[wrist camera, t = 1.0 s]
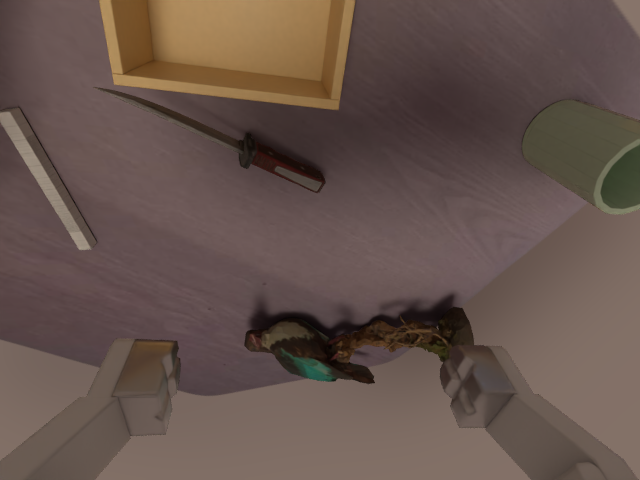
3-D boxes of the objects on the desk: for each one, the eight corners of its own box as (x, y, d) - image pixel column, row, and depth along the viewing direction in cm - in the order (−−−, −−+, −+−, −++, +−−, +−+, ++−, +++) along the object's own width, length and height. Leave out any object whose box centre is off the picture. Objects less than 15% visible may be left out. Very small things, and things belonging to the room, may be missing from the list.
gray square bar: (79, 250, 32) (85, 243, 33) (91, 249, 32) (97, 242, 33) (-6, 112, 25) (4, 109, 26) (9, 111, 25) (19, 107, 26)
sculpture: (501, 356, 32) (226, 358, 32) (455, 393, 43) (253, 394, 43) (477, 277, 36) (238, 280, 37) (441, 329, 48) (259, 330, 48)
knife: (120, 81, 26) (90, 97, 22) (125, 64, 25) (95, 76, 21) (316, 183, 32) (322, 210, 28) (324, 171, 31) (331, 197, 27)
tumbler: (541, 95, 29) (630, 126, 22) (604, 103, 30) (709, 136, 23) (510, 164, 33) (577, 211, 25) (567, 169, 34) (648, 217, 26)
